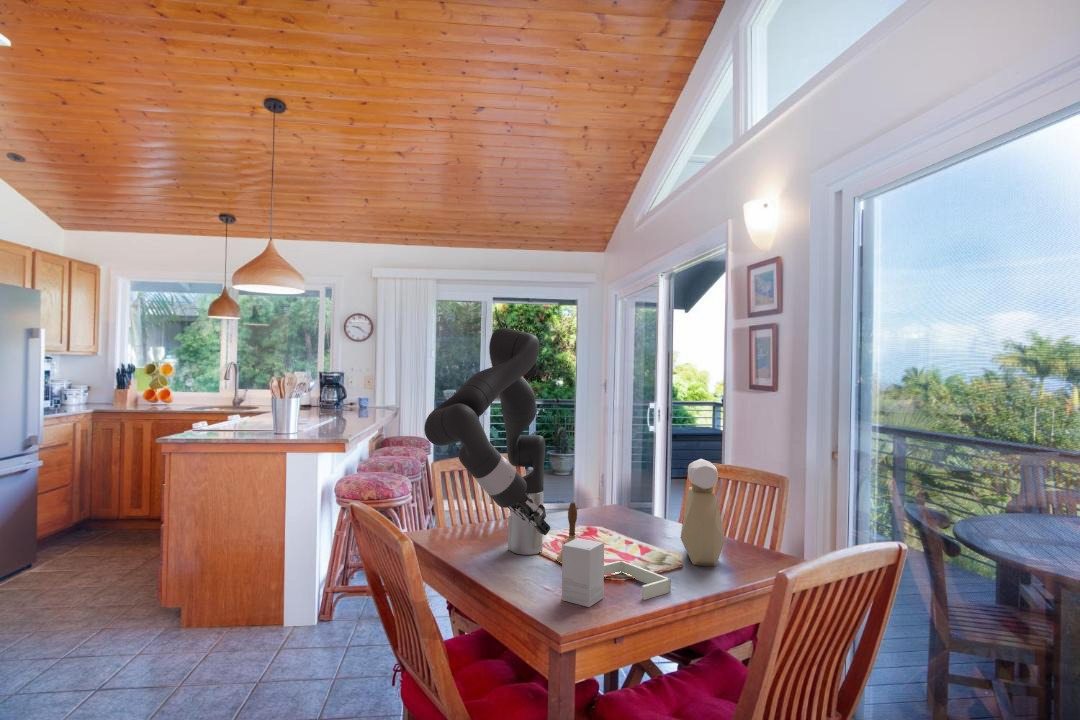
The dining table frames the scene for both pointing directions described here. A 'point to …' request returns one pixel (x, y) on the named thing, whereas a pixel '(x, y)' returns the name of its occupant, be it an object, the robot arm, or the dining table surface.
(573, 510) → the hand bell
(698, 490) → the perfume bottle
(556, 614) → the dining table surface
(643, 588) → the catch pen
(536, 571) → the dining table surface
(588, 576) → the supplement box
